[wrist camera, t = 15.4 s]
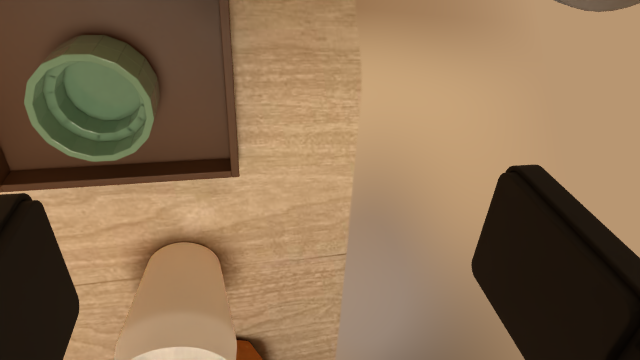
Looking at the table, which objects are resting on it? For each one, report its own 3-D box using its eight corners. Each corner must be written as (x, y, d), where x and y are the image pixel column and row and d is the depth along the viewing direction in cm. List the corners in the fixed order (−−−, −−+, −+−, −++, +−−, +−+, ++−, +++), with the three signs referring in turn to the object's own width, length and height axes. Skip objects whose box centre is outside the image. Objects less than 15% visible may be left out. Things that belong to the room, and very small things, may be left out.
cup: (236, 294, 45) (242, 408, 35) (143, 306, 44) (122, 428, 34) (229, 225, 40) (233, 336, 30) (123, 236, 39) (92, 356, 29)
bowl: (151, 32, 29) (142, 53, 26) (166, 128, 33) (160, 158, 30) (33, 32, 28) (6, 55, 24) (64, 132, 32) (44, 165, 28)
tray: (226, -26, 29) (227, -20, 27) (237, 160, 37) (239, 177, 35) (-77, -33, 26) (-102, -25, 24) (7, 174, 33) (-7, 193, 31)
